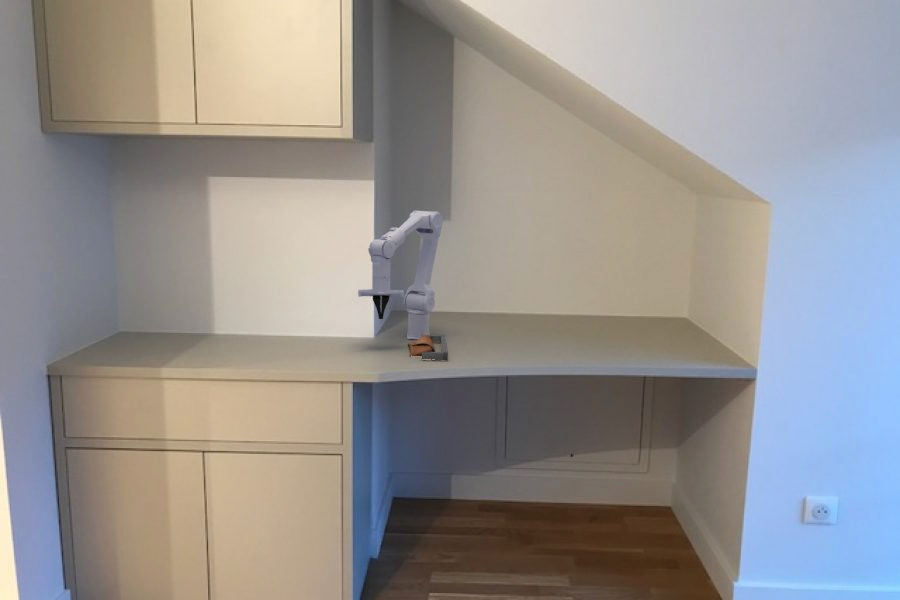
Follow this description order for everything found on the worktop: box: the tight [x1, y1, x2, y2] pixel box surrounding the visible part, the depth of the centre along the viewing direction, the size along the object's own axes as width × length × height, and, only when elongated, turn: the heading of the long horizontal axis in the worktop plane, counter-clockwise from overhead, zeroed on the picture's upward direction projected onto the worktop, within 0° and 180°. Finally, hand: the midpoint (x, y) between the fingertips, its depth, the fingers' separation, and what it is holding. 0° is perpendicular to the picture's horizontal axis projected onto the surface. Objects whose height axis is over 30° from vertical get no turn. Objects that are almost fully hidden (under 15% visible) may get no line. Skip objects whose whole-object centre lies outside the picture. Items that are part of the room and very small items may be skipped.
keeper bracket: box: [421, 334, 449, 360], centre depth 229 cm, size 24×8×2 cm, turn 3°
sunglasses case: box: [407, 334, 436, 356], centre depth 229 cm, size 18×7×7 cm
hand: (380, 318), depth 228 cm, fingers closed
